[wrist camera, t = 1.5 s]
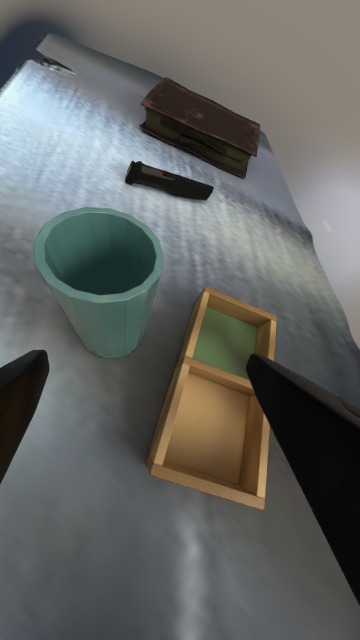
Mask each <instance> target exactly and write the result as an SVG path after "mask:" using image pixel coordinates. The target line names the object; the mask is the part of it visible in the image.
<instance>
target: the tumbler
mask: <svg viewBox="0 0 360 640" xmlns="http://www.w3.org/2000/svg"><path fill="white" fill-rule="evenodd" d="M163 260H164V255H163V252H162V249H161V245H160V242H159V240H158V239H157V237H156V236H155V235H154V234H153V232H152V231H151V230H150V229H149V228H148V226H146V225H145V224H144V223H142V222H140V221H139V220H137V219H136V218H134V217H132V216H131V215H129V214H126V213H122V212H119V211H116V210H113V209H109V208H92V207H86V208H85V207H84V208H80V209H75V210H71V211H67V212H64V213H61V214H60V215H58V216H56V217H55V218H53V219H52V220H50V221H49V222H47V223H45V225H44V226H43V227H42V229H41V231H40V232H39V234H38V236H37V237H36V239H35V240H34V262H35V265H36V267H37V268H38V270H39V272H40V273H41V275H42V277H43V278H44V280H45V281H46V283H47V285H48V286H49V288H50V290H51V291H52V293H53V295H54V296H55V298H56V300H57V301H58V303H59V305H60V306H61V308H62V309H63V311H64V313H65V314H66V316H67V318H68V319H69V321H70V323H71V324H72V326H73V328H74V329H75V331H76V333H77V334H78V336H79V337H80V339H81V341H82V342H83V344H84V345H85V347H86V348H87V349H88V350H89V351H90V352H92V353H93V354H95V355H97V356H99V357H103V358H109V359H110V358H120V357H123V356H126V355H128V354H130V353H131V352H133V351H134V350H135V349H136V348H137V347H138V346H139V344H140V343H141V341H142V339H143V337H144V333H145V330H146V326H147V322H148V319H149V315H150V311H151V308H152V304H153V300H154V297H155V293H156V290H157V286H158V282H159V279H160V275H161V270H162V265H163Z"/></svg>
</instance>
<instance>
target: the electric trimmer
mask: <svg viewBox="0 0 360 640" xmlns="http://www.w3.org/2000/svg"><path fill="white" fill-rule="evenodd" d="M125 181H128V183H129V184H132V183H133V182H137V183H141V184H144V185H148V186H152V187H156V188H160V189H163V190H167V191H170V192H171V193H172V194H173V195H176V196H181V197H187V198H194V199H201V200H207V199H208V197H209V196H210V195H211V193H212V191H213V189H214V187H212V186H210V185H207V184H204V183H200V182H197V181H194V180H191V179H188V178H185V177H182V176H180V175H177V174H173V173H169V172H167V171H163V170H160V169H157V168H154V167H151V166H148V165H145V164H143V163H142V162H141V161H139V162H136V163H135V162H134V161H132V162H131V164H130V166H129V168H128V171H127V175H126V179H125Z"/></svg>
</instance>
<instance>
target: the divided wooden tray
mask: <svg viewBox="0 0 360 640" xmlns="http://www.w3.org/2000/svg"><path fill="white" fill-rule="evenodd" d="M276 321H277V316H275V315H272V314H270V313H267V312H265V311H263V310H260V309H258V308H256V307H253V306H251V305H249V304H246V303H244V302H241V301H239V300H237V299H234V298H232V297H230V296H227V295H225V294H223V293H220V292H218V291H215V290H213V289H211V288H208V287H205V288H204V289H203V291H202V292H201V294H200V295H199V297H198V298H197V300H196V303H195V306H194V309H193V312H192V316H191V319H190V322H189V325H188V329H187V332H186V335H185V338H184V341H183V345H182V348H181V351H180V354H179V357H178V361H177V364H176V367H175V370H174V374H173V377H172V380H171V383H170V386H169V390H168V393H167V396H166V399H165V402H164V406H163V409H162V412H161V415H160V419H159V422H158V425H157V428H156V431H155V435H154V438H153V441H152V444H151V447H150V451H149V454H148V457H147V460H146V463H145V464H146V466H147V469H148V471H149V474H150V475H151V476H154V477H158V478H161V479H164V480H167V481H171V482H174V483H177V484H180V485H183V486H187V487H190V488H193V489H196V490H200V491H203V492H206V493H209V494H212V495H216V496H219V497H222V498H225V499H229V500H232V501H235V502H238V503H241V504H245V505H248V506H251V507H254V508H258V509H261V510H264V502H265V499H264V498H265V489H266V474H267V458H268V443H269V428H270V425H269V423H268V420H267V418H266V416H265V414H264V412H263V410H262V408H261V406H260V404H259V402H258V400H257V398H256V396H255V393H254V390H253V388H252V385H251V383H250V380H249V377H248V375H247V372H246V365H247V362H248V360H249V357H250V355H251V354H253V353H258V354H262V355H263V356H265V357H267V358H269V359H271V360H273V361H274V350H275V335H276Z"/></svg>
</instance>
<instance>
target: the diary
mask: <svg viewBox="0 0 360 640" xmlns="http://www.w3.org/2000/svg"><path fill="white" fill-rule="evenodd" d="M141 105H142V106H144V107H146V110H147V114H146V121H145V122H144V123H143V124H142V125H141V124H140V127H141V128H142V129H143V130H144V131H146V132H148V133H150V134H152V135H154V136H156V137H157V138H159V139H161V140H163V141H165V142H167V143H169V144H172V145H174V146H177V147H179V148H182V149H184V150H187V151H189V152H192V153H194V154H195V155H197V156H199V157H200V158H202V159H204V160H206V161H207V162H209V163H211V164H212V165H214V166H216V167H217V168H220V169H222V170H225V171H227V172H230V173H233V174H235V175H238V176H240V177H243V178H245V177H246V171H247V165H248V161H249V159H250V157H251V155H253V156H255V157H256V156H257V150H258V143H259V134H260V124H258V123H256V122H254V121H251V120H249V119H247V118H245V117H243V116H240V115H238V114H236V113H234V112H232V111H231V110H228V109H227V108H225V107H223V106H221V105H220V104H218V103H216V102H214V101H213V100H210V99H208V98H206V97H204V96H201V95H199V94H197V93H195V92H192V91H190V90H188V89H187V88H185V87H183V86H181V85H180V84H178V83H176V82H174V81H173V80H171V79H169V78H167V77H165V78H164V79H163V80H162V81H161V82H160V83H159V84H157V85H156V86H155V87H154V88H153V89H152V90H151V91H150V92H149V93H148V94H147V96H146V97H145V98H144V99H143V101H142V103H141Z"/></svg>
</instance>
